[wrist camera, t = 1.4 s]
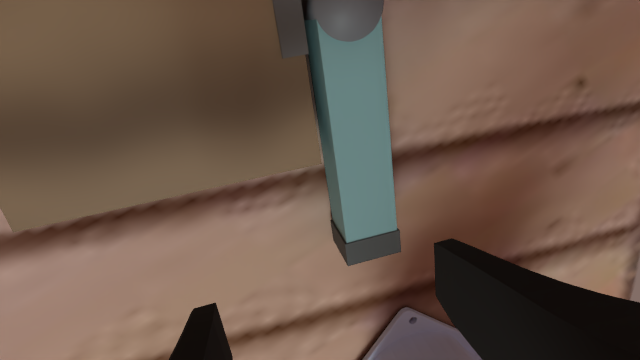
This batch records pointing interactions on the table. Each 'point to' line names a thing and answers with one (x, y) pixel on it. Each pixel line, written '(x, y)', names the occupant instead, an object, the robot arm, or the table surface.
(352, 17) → the stool leg
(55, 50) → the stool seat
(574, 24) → the table surface
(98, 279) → the table surface
